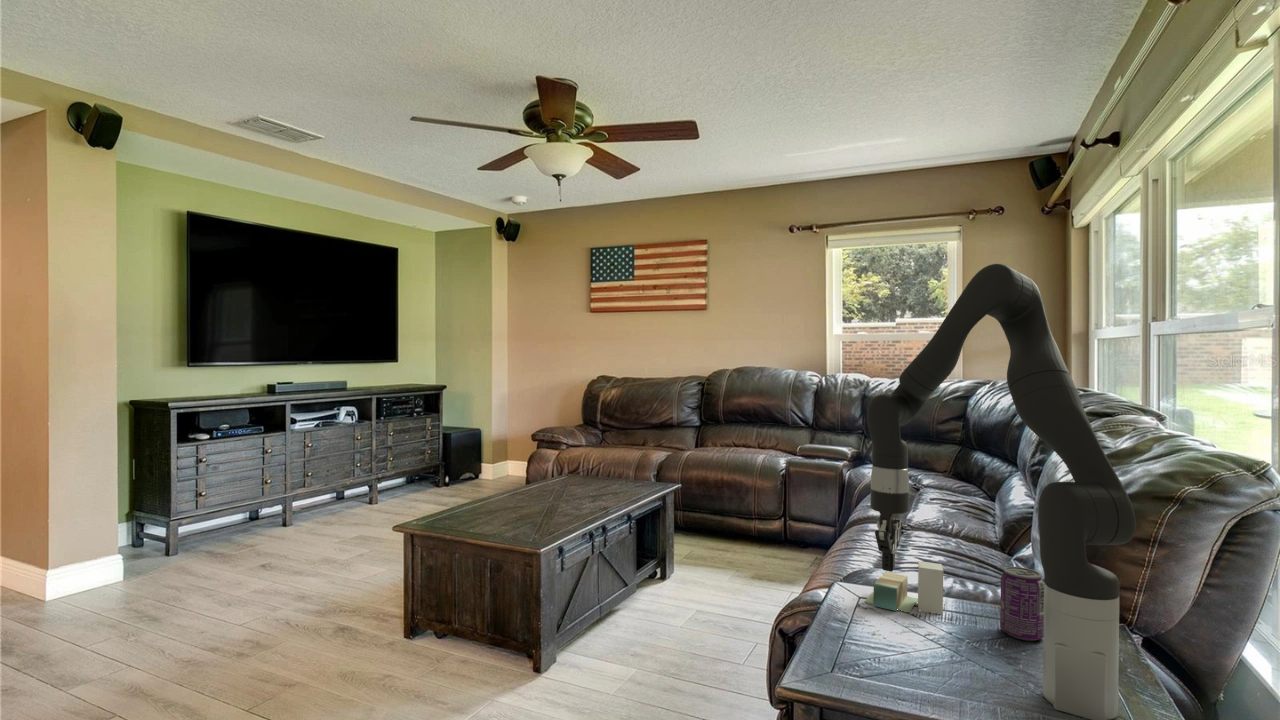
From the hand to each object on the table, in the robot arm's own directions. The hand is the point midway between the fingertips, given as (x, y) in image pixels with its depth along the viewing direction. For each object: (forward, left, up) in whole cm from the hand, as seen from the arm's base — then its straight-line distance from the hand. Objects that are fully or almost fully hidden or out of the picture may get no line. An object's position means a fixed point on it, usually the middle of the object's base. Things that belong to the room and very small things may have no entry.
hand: (888, 570), depth 129 cm
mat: (+3, 0, -8) cm, 8 cm away
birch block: (-3, 0, -5) cm, 6 cm away
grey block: (+4, -8, -8) cm, 11 cm away
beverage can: (+1, -24, -8) cm, 25 cm away
